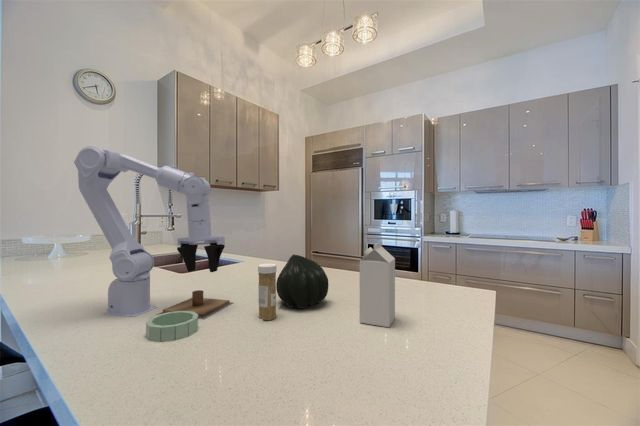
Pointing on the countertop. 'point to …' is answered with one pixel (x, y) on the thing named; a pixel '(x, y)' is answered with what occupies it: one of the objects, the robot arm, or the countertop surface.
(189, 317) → the bowl
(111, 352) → the countertop surface
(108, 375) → the countertop surface
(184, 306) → the lid
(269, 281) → the sprinkles bottle
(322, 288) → the squash
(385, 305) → the milk carton
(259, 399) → the countertop surface
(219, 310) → the mat
